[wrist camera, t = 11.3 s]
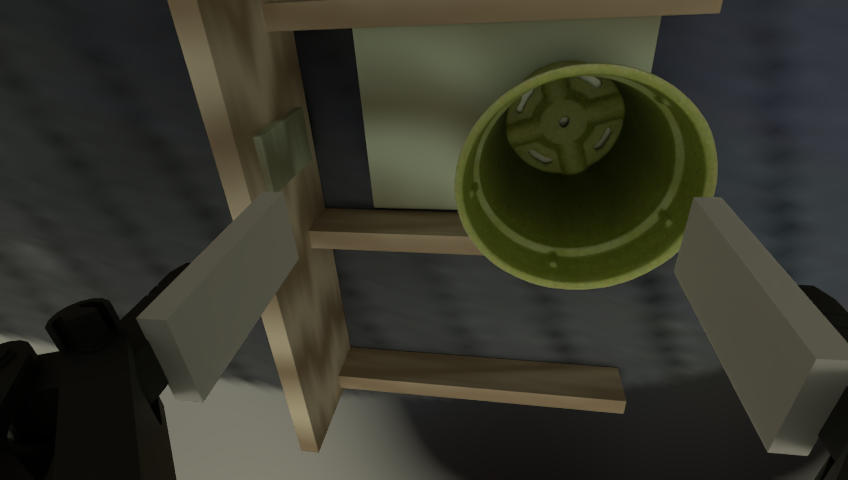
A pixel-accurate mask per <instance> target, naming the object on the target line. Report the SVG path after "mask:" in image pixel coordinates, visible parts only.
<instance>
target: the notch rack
mask: <svg viewBox="0 0 848 480" xmlns="http://www.w3.org/2000/svg"><path fill="white" fill-rule="evenodd" d="M167 1H168V4H169V8H170V11H171V15H172V18H173V21H174V25H175V28H176V31H177V35H178V38H179V41H180V45H181V48H182V51H183V55H184V58H185V61H186V65H187V68H188V72H189V75H190V78H191V82H192V85H193V88H194V92H195V95H196V98H197V102H198V105H199V108H200V112H201V115H202V119H203V122H204V125H205V129H206V132H207V135H208V139H209V142H210V145H211V149H212V152H213V155H214V159H215V162H216V166H217V169H218V172H219V176H220V179H221V182H222V186H223V189H224V192H225V196H226V199H227V202H228V206H229V209H230V212H231V216H232V219H233V221H234V220H235V219H236V218H237V217H238V216H239V215H240V214H241V213H242V212H243V211H244V210H245V209H246V208H247V207H248V206H249V205H250V204H251V203H252V202H253V201H254V200H255V199H256V198H257V197H258V196H259V195H260V194H261V193H262V192H284V197H285V201H286V205H287V210H288V214H289V218H290V222H291V227H292V231H293V235H294V239H295V244H296V248H297V252H298V257H299V259H298V261H297V262H296V264H295V265H294V267H293V268H292V270H291V271H290V273H289V274H288V276H287V277H286V279H285V280H284V282H283V283H282V285H281V286H280V288H279V289H278V291H277V292H276V294H275V295H274V297H273V298H272V300H271V301H270V303H269V304H268V306H267V307H266V309H265V310H264V312H263V313H262V315H261V316H262V320H263V323H264V327H265V330H266V333H267V337H268V340H269V343H270V347H271V350H272V353H273V357H274V360H275V363H276V367H277V370H278V374H279V377H280V380H281V384H282V387H283V390H284V394H285V397H286V400H287V404H288V407H289V410H290V413H291V417H292V420H293V424H294V427H295V430H296V434H297V437H298V441H299V444H300V447H301V450H302V451H310V452H319V450H320V448H321V445H322V443H323V440H324V438H325V435H326V432H327V430H328V427H329V425H330V422H331V420H332V417H333V415H334V412H335V410H336V407H337V404H338V402H339V399H340V397H341V394H342V392H343V389H344V388H352V389H362V390H373V391H384V392H395V393H406V394H416V395H427V396H438V397H449V398H460V399H470V400H481V401H493V402H503V403H514V404H524V405H535V406H546V407H558V408H569V409H578V410H589V411H600V412H612V413H622V414H623V413H624V409H625V404H626V399H625V394H624V390H623V386H622V382H621V378H620V374H619V371H618V368H614V367H601V366H588V365H575V364H562V363H549V362H536V361H523V360H510V359H497V358H484V357H471V356H459V355H446V354H433V353H420V352H407V351H394V350H381V349H368V348H355V347H350V342H349V336H348V331H347V325H346V320H345V314H344V309H343V303H342V298H341V292H340V286H339V281H338V275H337V270H336V264H335V259H334V253H333V249H345V250H370V251H394V252H418V253H443V254H467V255H483V254H482V253H481V252H480V251H479V250H478V248H477V247H476V246H475V245H474V244H473V242H472V241H471V239H470V238H469V236H468V234H467V233H466V231H465V229H464V227H463V225H462V222H461V220H460V217H459V214H458V212H448V211H409V210H371V209H333V208H325V204H324V198H323V193H322V187H321V182H320V176H319V171H318V165H317V160H316V154H315V149H314V143H313V138H312V132H311V127H310V121H309V116H308V110H307V105H306V99H305V93H304V88H303V82H302V77H301V71H300V66H299V60H298V55H297V49H296V44H295V38H294V33H293V31H297V30H321V29H346V28H352V31H353V39H354V47H355V55H356V63H357V72H358V80H359V88H360V96H361V104H362V113H363V121H364V129H365V137H366V145H367V154H368V162H369V170H370V178H371V186H372V195H373V203H374V208H411V209H451V210H457V206H456V200H455V194H454V181H455V172H456V166H457V162H458V158H459V155H460V152H461V149H462V147H463V145H464V142H465V140H466V138H467V136H468V134H469V133H470V131H471V129H472V128H473V126H474V125H475V123H476V122H477V120H478V119H479V118H480V116H481V115H482V114H483V113H484V112H485V110H486V109H487V108H488V107H489V106H490V105H491V104H492V103H493V102H494V101H495V100H497V99H498V98H499V97H500V96H501V95H503V94H504V93H505V92H507V91H508V90H509V89H511V88H512V87H514V86H516V85H517V84H519V83H521V82H522V81H523V80H524V79H525V78H526V77H528V76H529V75H530V74H531V73H533V72H534V71H536V70H537V69H540V68H542V67H544V66H546V65H549V64H552V63H556V62H561V61H567V60H574V61H582V62H587V63H610V64H620V65H625V66H630V67H634V68H637V69H641V70H644V71H647V72H649V73H651V70H652V65H653V59H654V54H655V48H656V43H657V37H658V32H659V26H660V21H661V16H663V15H688V14H712V13H720V10H721V6H722V2H723V0H167ZM578 78H581V79H583V80H585V81H587V82H589V83H590V84H592V85H593V86H595V87H596V88H600V87H601V82H600V80H598V79H597V78H595V77H594V76H579V77H578ZM532 94H533V90H531V91H529V92H527V93H526V94H524V95H523V96H522V99H521V103H520V104H519V106H518V107H517V111H518V113H521V112H522V111H523V108H524V106H525V104H526V102H527V100H528V99H529V98H530V96H531V95H532ZM559 124H560V126H561V127H566V126H567V125H568V124H569V118H566V117H564V118H562V119H561V120H560V121H559ZM610 134H611V130H610V128H607V130H606V131H605V134H604V135H603V137H602V138H601V139H600V141H598V143H597V144H596V145H595V146H594V149H595V150H597V149H600V148H601V147H602V146H603V145H604V144H605V143H606V141H607V139H608V138H609V136H610ZM530 154H531V156H532V157H533V158H535V159H537V160H539V161H540V162H543V163H551V162H552V159H550V158H548V157H545V156H542V155H541V154H539V153H538V152H536V151H535V150H530Z"/></svg>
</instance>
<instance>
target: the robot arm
mask: <svg viewBox="0 0 848 480" xmlns="http://www.w3.org/2000/svg"><path fill="white" fill-rule="evenodd" d="M298 259H299V257H298V252H297V248H296V244H295V239H294V235H293V231H292V227H291V222H290V218H289V214H288V210H287V205H286V201H285V197H284V192H262V193H261V194H260V195H259V196H258V197H257V198H256V199H255V200H254V201H253V202H252V203H251V204H250V205H249V206H248V207H247V208H246V209H245V210H244V211H243V212H242V213H241V214H240V215H239V216H238V217H237V218H236V219H235V220H234V221H233V222H232V223H231V224H230V225H229V226H228V227H227V228H226V229H225V230H224V231H223V232H222V233H221V234H220V235H219V236H218V237H217V238H216V239H215V240H214V241H213V242H212V243H211V244H210V245H209V246H208V247H207V248H206V249H205V250H204V251H203V252H202V253H201V254H200V255H199V256H198V257H197V258H196V259H195V260H194V261H193V262H192V263H185V264H184V265H182V266H180V267H178V268H177V269H175V270H173V271H172V272H170V273H169V274H168V275H167V276H166V277H165V278H164V279H163V280H162V281H161V282H160V283H159V284H158V286H155V287H154V288H153V289H152V290H151V291H150V292H149V295H148V296H147V295H146V296H145V297H144V298H143V299H142V300H141V301H140V302H139V303H138V304H137V305H136V306H135V307H134V308H133V309H132V310H131V311H130V312H128V313H127V314H126V315H125V316H124V317H123V318H122V319H121V320H120V319H119V317H118V315H117V314H116V312H115V310H114V308H113V306H112V304H111V302H110V301H109V300H106V299H103V298H93V299H88V300H84V301H80V302H77V303H75V304H72V305H70V306H67V307H66V308H64V309H62V310H61V311H59V312H57V313H56V314H55V315H54V316H53V317H52V318H51V319H49V320H48V322H47V324H46V326H45V329H46V331H47V332H48V334H49V335H50V337H51V339H52V340H53V342H54V343H55V345H56V346H57V348H58V350H59V351H58V352H52V353H46V354H41V355H37V354H36V353H35V351H34V350H33V348H32V347H31V345H30V344H29V343H28V342H26V341H21V340H18V341H9V342H6V343H2V344H0V480H176V474H175V469H174V463H173V457H172V451H171V446H170V440H169V434H168V428H167V423H166V417H165V411H164V405H163V403H162V401H161V400H160V397H159V395H160V394H161V393H162V391H163V390H164V389H165V388H166V386H167V385H169V387H170V389H171V391H172V393H173V395H174V397H175V399H176V400H182V401H192V402H193V401H194V402H204V400H205V399H206V397H207V396H208V394H209V393H210V391H211V390H212V388H213V387H214V385H215V384H216V382H217V381H218V379H219V378H220V376H221V375H222V373H223V372H224V370H225V369H226V367H227V366H228V364H229V363H230V361H231V360H232V358H233V357H234V355H235V354H236V352H237V351H238V349H239V348H240V346H241V345H242V343H243V342H244V340H245V339H246V337H247V336H248V334H249V333H250V331H251V330H252V328H253V327H254V325H255V324H256V322H257V321H258V319H259V318H260V316H261V315H262V313H263V312H264V310H265V309H266V307H267V306H268V304H269V303H270V301H271V300H272V298H273V297H274V295H275V294H276V292H277V291H278V289H279V288H280V286H281V285H282V283H283V282H284V280H285V279H286V277H287V276H288V274H289V273H290V271H291V270H292V268H293V267H294V265H295V264H296V262H297V261H298ZM674 274H675V276H676V277H677V279H678V281H679V283H680V285H681V287H682V289H683V291H684V293H685V295H686V297H687V299H688V301H689V302H690V304H691V306H692V308H693V310H694V312H695V314H696V316H697V318H698V320H699V322H700V324H701V325H702V327H703V329H704V331H705V333H706V335H707V337H708V339H709V341H710V343H711V345H712V347H713V348H714V350H715V352H716V354H717V356H718V358H719V360H720V362H721V364H722V366H723V368H724V370H725V371H726V373H727V375H728V377H729V379H730V381H731V383H732V385H733V387H734V389H735V391H736V393H737V394H738V396H739V398H740V400H741V402H742V404H743V406H744V408H745V410H746V412H747V414H748V415H749V417H750V419H751V421H752V423H753V425H754V427H755V429H756V431H757V433H758V435H759V437H760V439H761V440H762V442H763V444H764V446H765V448H766V450H767V452H770V453H782V454H792V455H804V456H808V455H809V453H810V451H811V449H812V448H813V446H814V444H815V443H816V441H817V439H818V438H820V439H821V441H822V442H823V444H824V445H825V447H826V449H827V450H828V452H829V453H830V456H829V457H828V459H827V461H826V462H825V464H824V465H823V467H822V469H821V470H820V472H819V473H818V475H817V476H816V478H815V479H814V480H848V312H847V311H846V310H845V309H844V308H843V307H842V306H841V305H840V304H839V303H838V302H837V301H836V300H835V299H834V298H832V297H831V296H829V295H827V294H826V293H824V292H823V291H821V290H819V289H818V288H816V287H815V286H808V285H797V284H796V283H795V282H794V281H793V279H792V278H791V277H790V276H789V275H788V274H787V273H786V271H785V270H784V269H783V268H782V267H781V266H780V264H779V263H778V262H777V261H776V260H775V259H774V258H773V256H772V255H771V254H770V253H769V252H768V251H767V250H766V248H765V247H764V246H763V245H762V244H761V243H760V241H759V240H758V239H757V238H756V237H755V236H754V235H753V233H752V232H751V231H750V230H749V229H748V228H747V227H746V225H745V224H744V223H743V222H742V221H741V220H740V218H739V217H738V216H737V215H736V214H735V213H734V212H733V210H732V209H731V208H730V207H729V206H728V205H727V204H726V202H725V201H724V200H723V199H722V198H721V197H694V198H693V201H692V205H691V209H690V213H689V216H688V220H687V224H686V228H685V231H684V235H683V239H682V242H681V246H680V250H679V254H678V257H677V261H676V265H675V269H674Z"/></svg>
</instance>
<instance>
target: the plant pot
mask: <svg viewBox="0 0 848 480" xmlns="http://www.w3.org/2000/svg"><path fill="white" fill-rule="evenodd" d="M579 76H594V77H595V78H597V79H598V80H600V82H601V87H600V88H596V87H595V86H593V85H592V84H590V83H589V82H587V81H585V80H583V79H581V78H578V77H579ZM531 90H533V94H532V95H531V96H530V98H529V99H528V100H527V102H526V104H525V106H524V108H523V111H522V112H521V113H518V111H517V107H518V106H519V104H520V103H521V99H522V96H523V95H524V94H526V93H527V92H529V91H531ZM564 117H566V118H569V124H568V125H567V126H566V127H561V126H560V124H559V121H560V120H561V119H562V118H564ZM607 128H610V130H611V134H610V136H609V138H608V139H607V141H606V143H605V144H604V145H603V146H602V147H601V148H600V149H597V150H595V149H594V146H595V145H596V144H597V143H598V141H600V139H601V138H602V137H603V135H604V134H605V131H606V130H607ZM530 150H535V151H536V152H538V153H539V154H541V155H542V156H545V157H548V158H550V159H552V162H551V163H543V162H540V161H539V160H537V159H535V158H533V157H532V156H531V154H530ZM717 168H718V162H717V154H716V147H715V143H714V138H713V135H712V132H711V130H710V127H709V125H708V123H707V121H706V120H705V118H704V117H703V115H702V114H701V112H700V111H699V109H698V108H697V107H696V106H695V104H694V103H693V102H692V101H691V100H690V99H689V98H688V97H686V96H685V95H684V94H683V93H682V92H681V91H680V90H678V89H677V88H676V87H674V86H673V85H672V84H670V83H668V82H667V81H665V80H664V79H662V78H660V77H658V76H656V75H654V74H652V73H649V72H647V71H644V70H641V69H637V68H634V67H630V66H625V65H620V64H610V63H587V62H582V61H574V60H567V61H561V62H556V63H552V64H549V65H546V66H544V67H542V68H540V69H537V70H536V71H534V72H533V73H531V74H530V75H529V76H528V77H526V78H525V79H524V80H523V81H522V82H521V83H519V84H517V85H516V86H514V87H512V88H511V89H509V90H508V91H507V92H505V93H504V94H503V95H501V96H500V97H499V98H498V99H497V100H495V101H494V102H493V103H492V104H491V105H490V106H489V107H488V108H487V109H486V110H485V112H484V113H483V114H482V115H481V116H480V118H479V119H478V120H477V122H476V123H475V125H474V126H473V128H472V129H471V131H470V133H469V134H468V136H467V138H466V140H465V142H464V145H463V147H462V149H461V152H460V155H459V158H458V162H457V166H456V172H455V181H454V194H455V200H456V206H457V210H458V214H459V217H460V220H461V222H462V225H463V227H464V229H465V231H466V233H467V234H468V236H469V238H470V239H471V241H472V242H473V244H474V245H475V246H476V247H477V248H478V250H479V251H480V252H481V253H482V254H483V255H484V256H485V257H486V258H487V259H489V260H490V261H491V262H492V263H494V264H495V265H496V266H498V267H499V268H501V269H502V270H504V271H506V272H508V273H510V274H512V275H513V276H516V277H518V278H520V279H522V280H525V281H527V282H530V283H533V284H537V285H541V286H544V287H550V288H559V289H569V290H571V289H574V290H583V289H593V288H602V287H609V286H612V285H616V284H620V283H623V282H626V281H629V280H632V279H634V278H637V277H639V276H641V275H643V274H645V273H647V272H649V271H651V270H653V269H654V268H656V267H658V266H659V265H661V264H663V263H664V262H666V261H667V260H668V259H670V258H671V257H672V256H674V255H675V254H676V253H677V252H678V251H679V250H680V246H681V242H682V239H683V235H684V231H685V228H686V224H687V220H688V216H689V213H690V209H691V205H692V201H693V198H694V197H713V196H714V193H715V188H716V183H717V173H718V172H717Z"/></svg>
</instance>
